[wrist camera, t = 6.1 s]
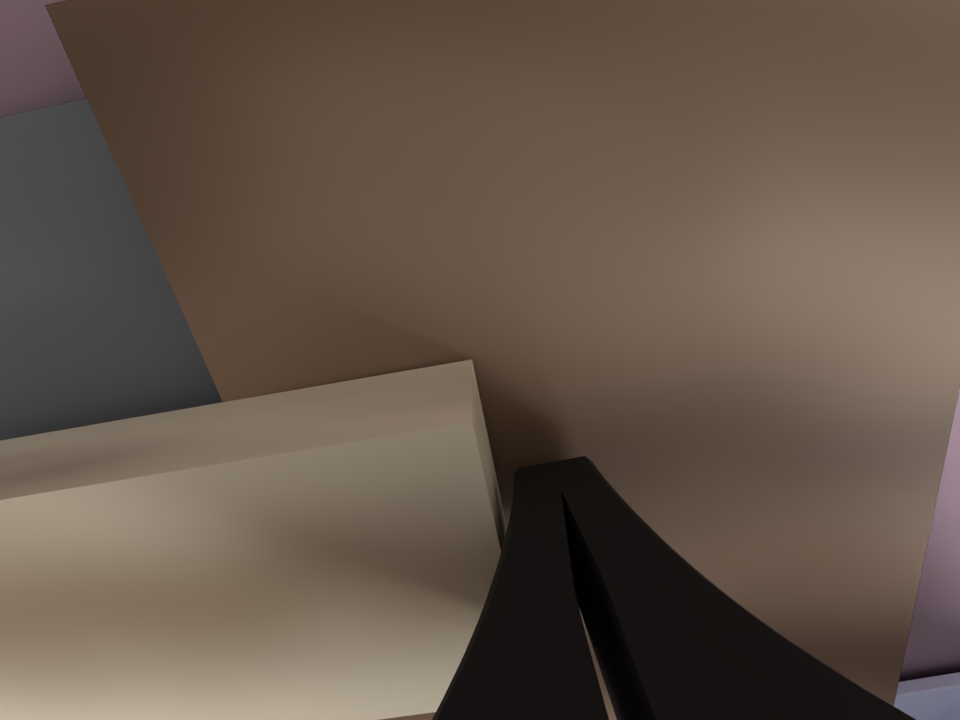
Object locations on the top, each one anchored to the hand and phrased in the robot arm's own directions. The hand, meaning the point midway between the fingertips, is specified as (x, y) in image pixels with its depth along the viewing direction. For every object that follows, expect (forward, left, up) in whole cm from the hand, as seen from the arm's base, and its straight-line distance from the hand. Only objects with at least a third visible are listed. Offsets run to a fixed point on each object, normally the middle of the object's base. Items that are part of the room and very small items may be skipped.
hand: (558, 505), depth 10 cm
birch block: (0, +6, -1) cm, 6 cm away
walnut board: (0, -1, -2) cm, 2 cm away
